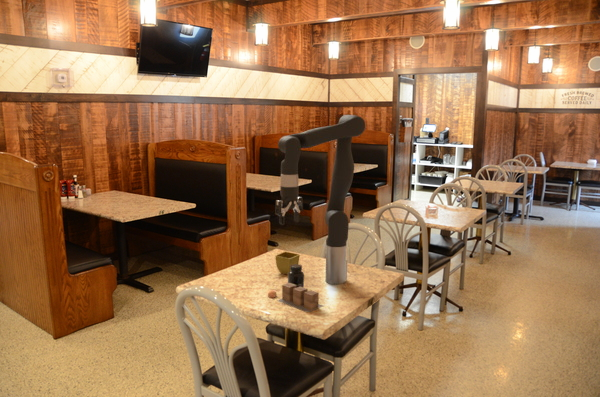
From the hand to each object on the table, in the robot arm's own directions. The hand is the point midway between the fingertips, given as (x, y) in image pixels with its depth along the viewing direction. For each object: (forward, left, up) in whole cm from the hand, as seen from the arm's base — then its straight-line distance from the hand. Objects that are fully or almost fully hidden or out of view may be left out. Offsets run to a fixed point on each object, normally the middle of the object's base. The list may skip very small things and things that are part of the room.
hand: (289, 223), depth 203 cm
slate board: (+9, +14, -30) cm, 34 cm away
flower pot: (-17, -18, -30) cm, 39 cm away
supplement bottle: (-1, +3, -30) cm, 30 cm away
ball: (+11, +1, -30) cm, 32 cm away
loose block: (+9, +15, -29) cm, 34 cm away
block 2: (+9, +20, -29) cm, 36 cm away
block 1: (+9, +8, -29) cm, 31 cm away
